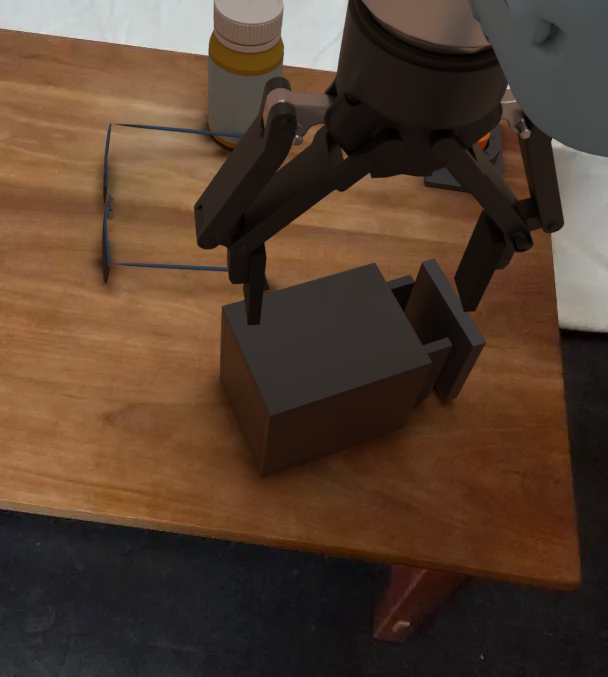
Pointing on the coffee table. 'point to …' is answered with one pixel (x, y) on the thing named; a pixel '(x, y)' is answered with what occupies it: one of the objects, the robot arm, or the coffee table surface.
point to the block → (491, 150)
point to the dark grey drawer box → (320, 368)
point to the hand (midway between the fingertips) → (360, 300)
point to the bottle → (242, 62)
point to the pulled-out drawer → (439, 328)
